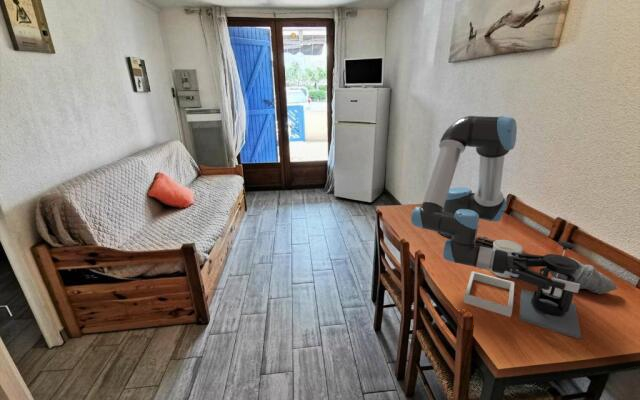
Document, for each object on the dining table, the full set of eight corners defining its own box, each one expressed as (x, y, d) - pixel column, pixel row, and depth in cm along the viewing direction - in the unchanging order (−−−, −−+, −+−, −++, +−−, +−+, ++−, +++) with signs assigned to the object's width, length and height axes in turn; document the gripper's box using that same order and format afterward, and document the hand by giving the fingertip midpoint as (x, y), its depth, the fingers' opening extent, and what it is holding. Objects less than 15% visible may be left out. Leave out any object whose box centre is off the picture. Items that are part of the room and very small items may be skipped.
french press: (523, 296, 104) (538, 235, 96) (550, 295, 103) (568, 235, 96) (547, 320, 92) (567, 254, 85) (578, 320, 92) (600, 254, 85)
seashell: (617, 295, 106) (626, 270, 103) (587, 303, 102) (595, 278, 99) (570, 270, 121) (576, 248, 117) (542, 277, 117) (548, 254, 113)
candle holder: (513, 267, 123) (519, 241, 119) (519, 281, 115) (526, 253, 111) (486, 263, 127) (491, 238, 122) (490, 276, 118) (496, 249, 114)
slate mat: (519, 320, 96) (520, 317, 95) (521, 291, 109) (521, 289, 109) (580, 339, 88) (581, 336, 88) (573, 305, 101) (574, 303, 101)
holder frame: (463, 302, 104) (464, 295, 103) (470, 277, 118) (472, 271, 117) (510, 317, 97) (512, 309, 96) (512, 289, 110) (514, 282, 109)
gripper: (492, 254, 113) (567, 270, 102) (488, 287, 95) (578, 311, 84) (496, 236, 110) (573, 251, 99) (492, 266, 92) (586, 288, 81)
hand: (575, 278), depth 92 cm, fingers closed on french press, 10 cm apart
